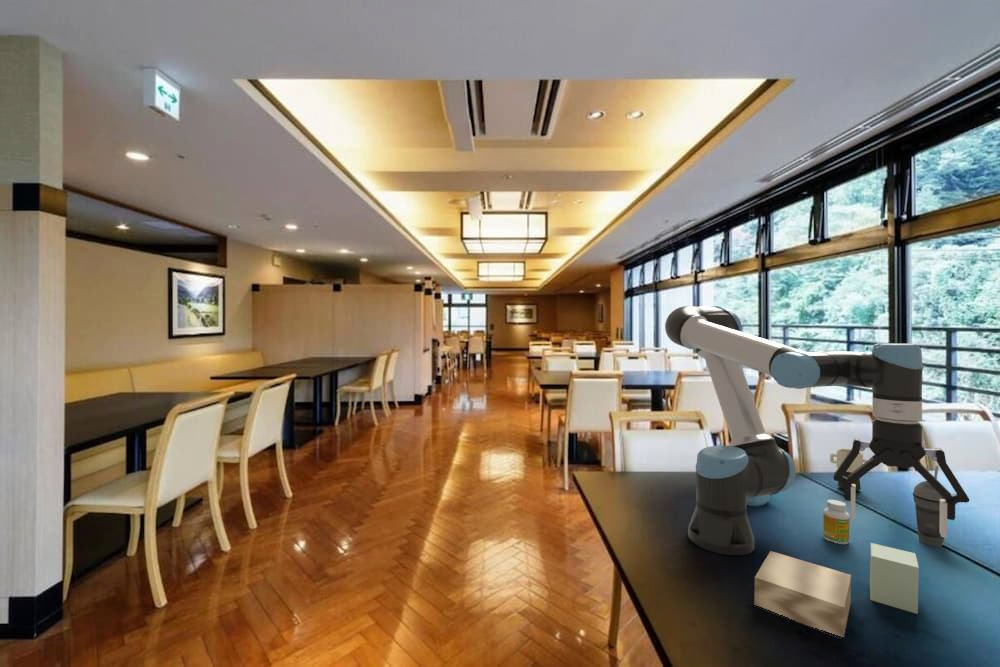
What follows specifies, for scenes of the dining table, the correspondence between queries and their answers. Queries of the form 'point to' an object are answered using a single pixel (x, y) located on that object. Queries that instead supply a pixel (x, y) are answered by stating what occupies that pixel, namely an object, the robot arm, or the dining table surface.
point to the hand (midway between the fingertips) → (896, 525)
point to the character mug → (855, 464)
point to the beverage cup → (928, 513)
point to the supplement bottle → (836, 522)
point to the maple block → (804, 592)
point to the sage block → (894, 577)
